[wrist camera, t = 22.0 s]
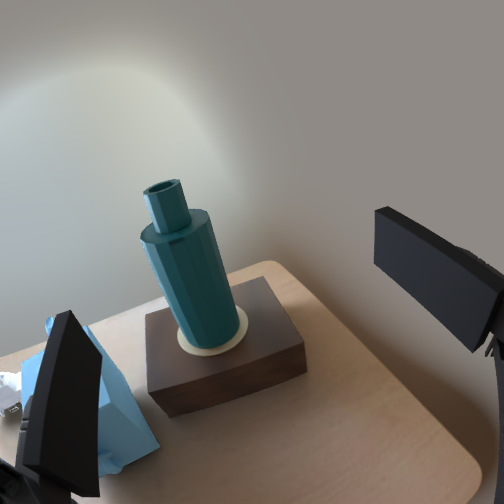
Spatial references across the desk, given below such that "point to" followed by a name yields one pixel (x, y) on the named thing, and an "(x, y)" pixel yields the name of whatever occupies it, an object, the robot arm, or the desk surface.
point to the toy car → (9, 391)
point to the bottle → (189, 267)
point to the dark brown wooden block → (223, 354)
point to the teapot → (105, 412)
